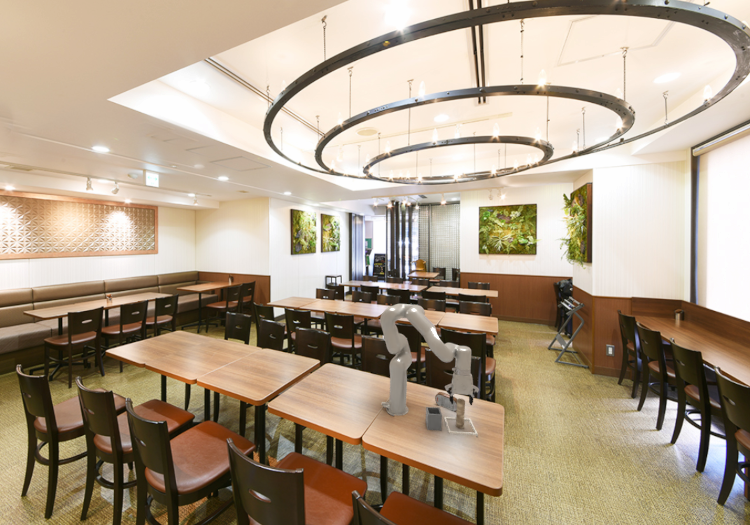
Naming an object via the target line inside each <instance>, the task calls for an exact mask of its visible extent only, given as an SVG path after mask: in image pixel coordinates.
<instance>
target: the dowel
mask: <svg viewBox="0 0 750 525" xmlns="http://www.w3.org/2000/svg"><path fill="white" fill-rule="evenodd" d="M465 410H466V400H465V399H464V398H457V412H455V413H456V414H455V415H456V417H455V418H456V420H455V427H456V428H457V429H459V430H464V428H465V420H464V418H465Z"/></svg>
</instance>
